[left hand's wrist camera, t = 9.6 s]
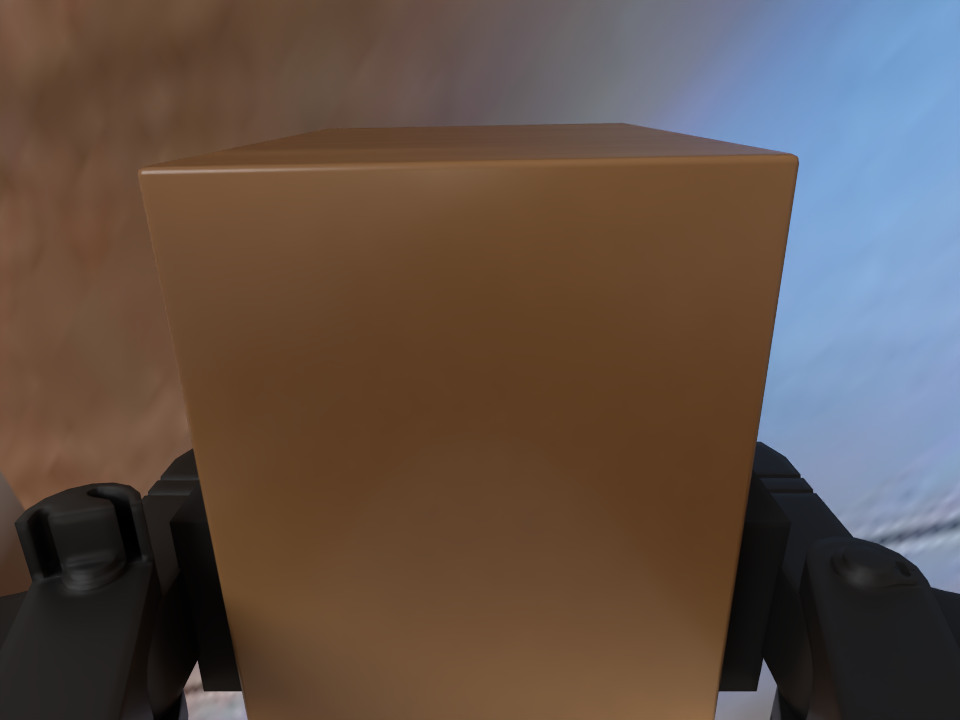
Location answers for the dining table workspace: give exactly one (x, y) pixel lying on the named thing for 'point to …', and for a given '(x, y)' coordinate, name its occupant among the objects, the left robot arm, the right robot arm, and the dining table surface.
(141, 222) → the dining table surface
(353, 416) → the beam
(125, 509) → the left robot arm
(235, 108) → the dining table surface
